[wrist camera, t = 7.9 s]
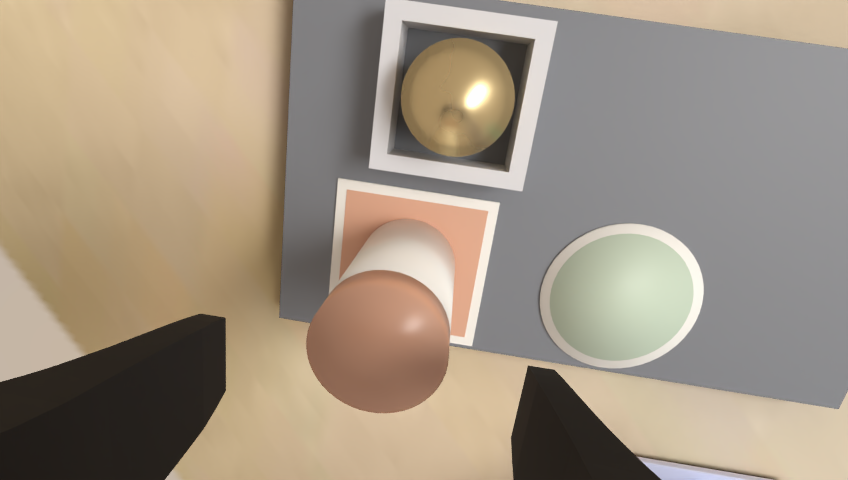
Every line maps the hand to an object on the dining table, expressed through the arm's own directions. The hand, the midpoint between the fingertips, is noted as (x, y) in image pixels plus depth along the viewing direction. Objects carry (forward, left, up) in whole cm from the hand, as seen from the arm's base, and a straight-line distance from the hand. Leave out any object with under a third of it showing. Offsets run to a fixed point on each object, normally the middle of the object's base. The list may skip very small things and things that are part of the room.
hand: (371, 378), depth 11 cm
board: (+3, -7, -10) cm, 13 cm away
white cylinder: (-1, 0, -9) cm, 9 cm away
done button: (+6, -1, -8) cm, 10 cm away
